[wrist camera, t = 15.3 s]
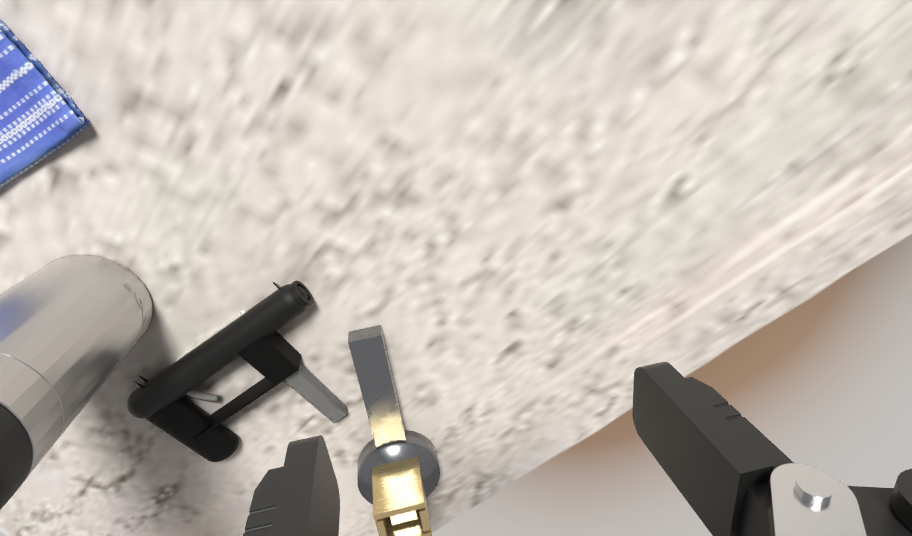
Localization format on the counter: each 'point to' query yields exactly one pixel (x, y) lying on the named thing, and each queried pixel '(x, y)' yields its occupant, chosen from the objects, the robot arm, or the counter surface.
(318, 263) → the counter surface
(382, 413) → the ratchet
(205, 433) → the door handle
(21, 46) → the dish towel
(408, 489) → the brass cube frame
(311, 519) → the robot arm
